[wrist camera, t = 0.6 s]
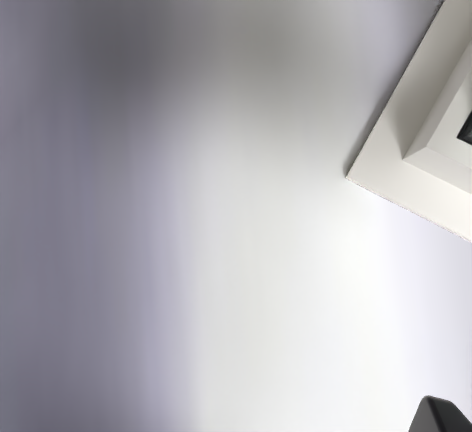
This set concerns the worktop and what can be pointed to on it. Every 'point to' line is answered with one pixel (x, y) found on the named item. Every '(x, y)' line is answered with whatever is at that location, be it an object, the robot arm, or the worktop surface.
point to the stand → (427, 129)
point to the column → (466, 131)
